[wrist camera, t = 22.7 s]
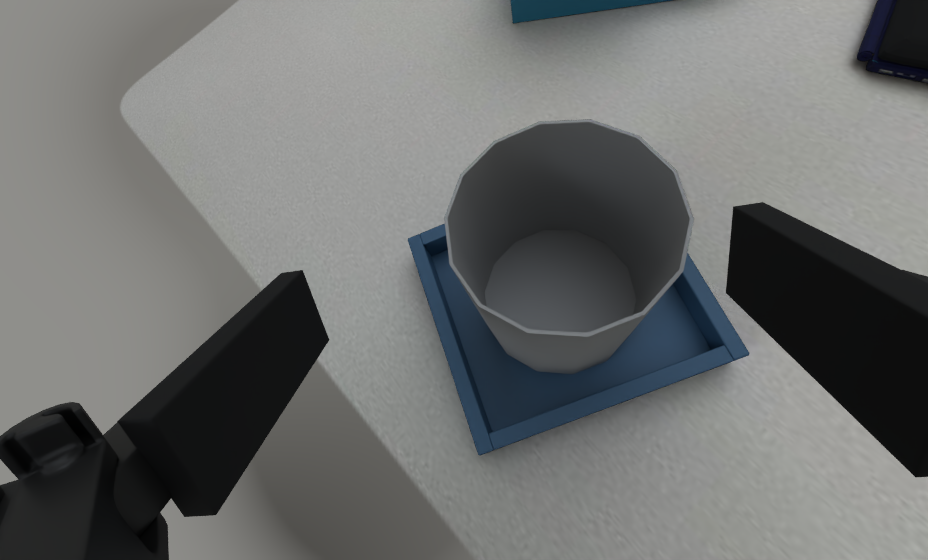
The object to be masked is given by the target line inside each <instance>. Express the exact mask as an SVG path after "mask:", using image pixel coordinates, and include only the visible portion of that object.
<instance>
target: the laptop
mask: <svg viewBox="0 0 928 560" xmlns="http://www.w3.org/2000/svg"><path fill="white" fill-rule="evenodd" d="M857 59H858V60H860V61H867V60H869V61H868V63H867V66H866V70H868V71H871V72H876V73H880V74H885V75H890V76H895V77H900V78H905V79H910V80H915V81H920V82H925V83H928V0H878V1H877V4H876V7H875V9H874V12H873V15H872V17H871V20H870V23H869V25H868V28H867V31H866V33H865V36H864V39H863V41H862V44H861V46H860V49H859V52H858V54H857Z"/></svg>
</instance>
